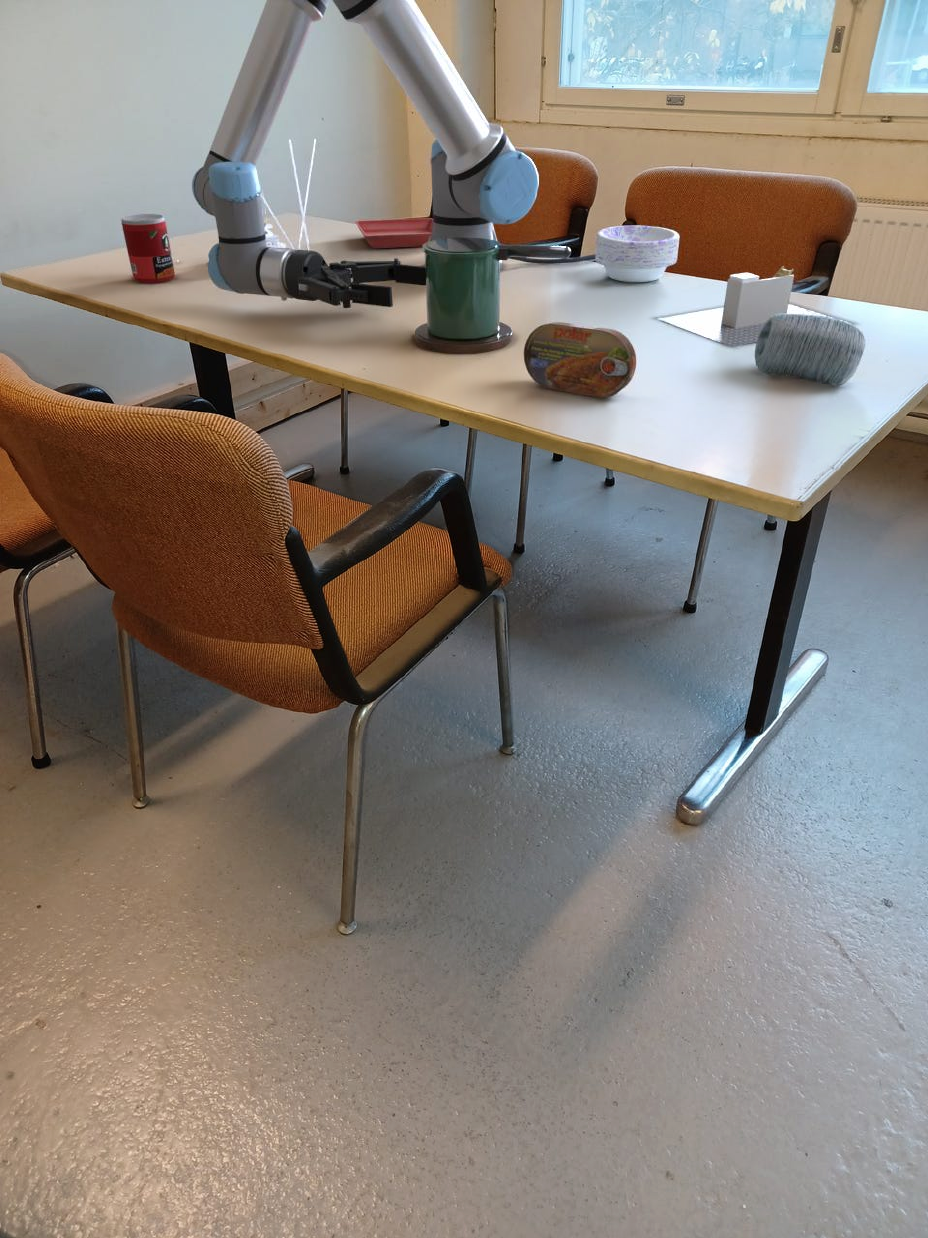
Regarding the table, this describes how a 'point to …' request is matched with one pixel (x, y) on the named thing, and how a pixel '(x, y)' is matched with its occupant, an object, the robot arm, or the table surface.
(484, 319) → the pot
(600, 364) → the tin
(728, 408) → the table surface
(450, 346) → the turntable
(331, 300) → the robot arm
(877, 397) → the table surface
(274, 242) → the wifi router
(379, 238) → the plant saucer
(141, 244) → the canned food
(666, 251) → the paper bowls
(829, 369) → the spool
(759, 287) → the model
